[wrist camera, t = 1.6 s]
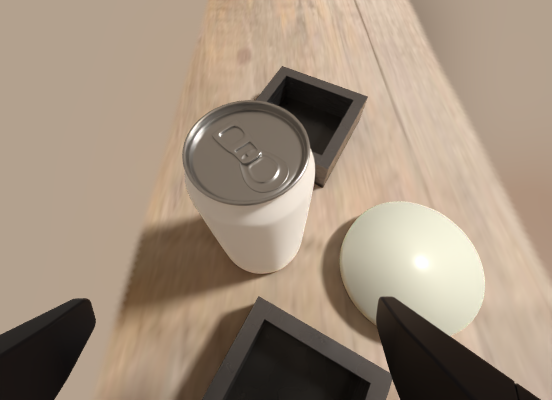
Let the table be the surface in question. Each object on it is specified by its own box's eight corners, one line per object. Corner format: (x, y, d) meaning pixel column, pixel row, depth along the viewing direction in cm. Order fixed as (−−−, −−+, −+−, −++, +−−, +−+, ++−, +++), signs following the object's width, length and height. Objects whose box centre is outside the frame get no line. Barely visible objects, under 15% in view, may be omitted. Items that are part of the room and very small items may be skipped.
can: (255, 292, 21) (227, 248, 10) (208, 230, 23) (145, 139, 12) (318, 240, 23) (351, 154, 12) (269, 187, 25) (259, 74, 14)
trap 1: (323, 187, 25) (328, 169, 22) (238, 149, 27) (233, 128, 24) (359, 119, 28) (367, 96, 25) (282, 90, 30) (282, 66, 27)
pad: (454, 369, 18) (467, 371, 17) (318, 294, 21) (321, 291, 19) (483, 242, 22) (496, 236, 21) (365, 190, 24) (370, 182, 23)
